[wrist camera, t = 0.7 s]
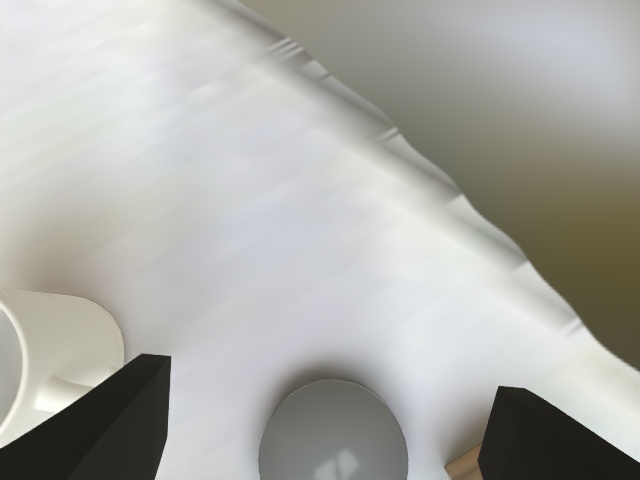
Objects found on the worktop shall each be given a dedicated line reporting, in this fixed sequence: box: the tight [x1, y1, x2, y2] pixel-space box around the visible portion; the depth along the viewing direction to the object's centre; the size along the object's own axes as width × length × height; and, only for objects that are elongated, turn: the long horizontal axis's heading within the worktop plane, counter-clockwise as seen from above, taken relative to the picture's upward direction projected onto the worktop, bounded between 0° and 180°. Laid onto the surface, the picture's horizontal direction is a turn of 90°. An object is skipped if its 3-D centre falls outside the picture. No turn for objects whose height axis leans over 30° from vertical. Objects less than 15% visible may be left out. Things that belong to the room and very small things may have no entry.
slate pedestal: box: [259, 378, 408, 480], centre depth 28 cm, size 9×9×2 cm
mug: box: [0, 288, 124, 448], centre depth 26 cm, size 12×8×10 cm
